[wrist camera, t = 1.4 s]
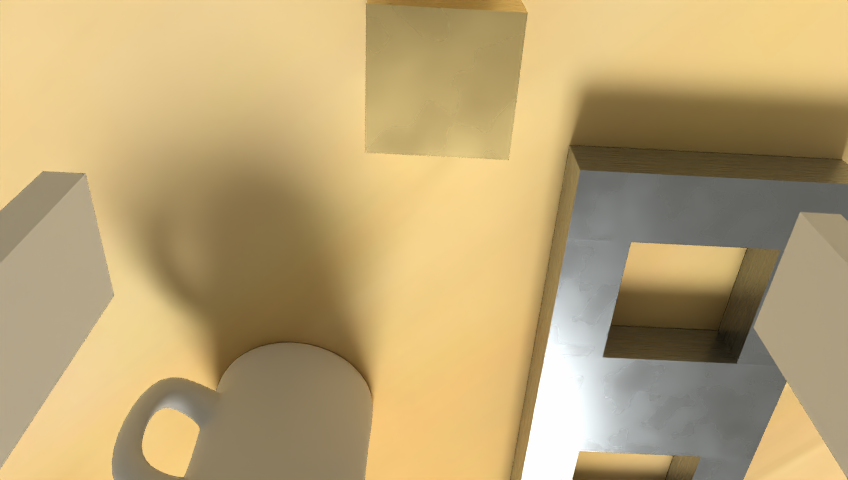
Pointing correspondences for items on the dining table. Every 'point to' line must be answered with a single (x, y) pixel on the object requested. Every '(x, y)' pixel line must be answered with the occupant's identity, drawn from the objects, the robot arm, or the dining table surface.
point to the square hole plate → (662, 347)
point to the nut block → (442, 76)
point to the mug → (262, 420)
